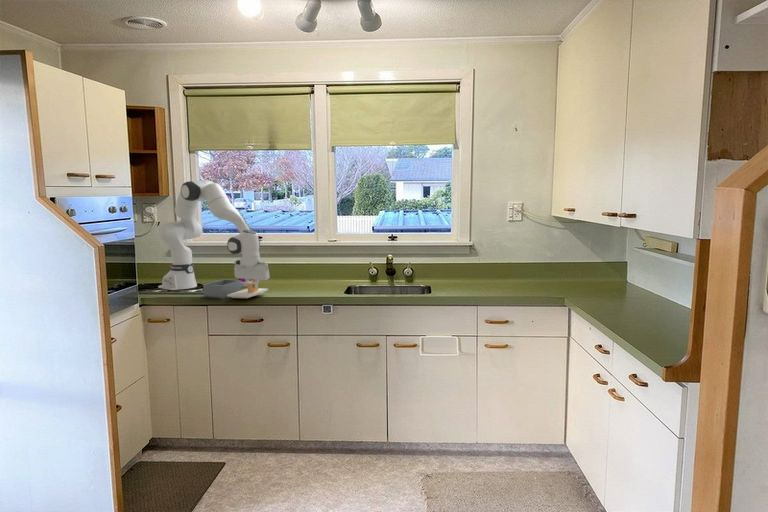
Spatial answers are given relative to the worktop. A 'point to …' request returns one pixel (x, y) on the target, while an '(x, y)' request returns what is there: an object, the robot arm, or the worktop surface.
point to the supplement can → (245, 282)
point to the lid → (247, 292)
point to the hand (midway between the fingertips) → (252, 287)
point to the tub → (221, 288)
